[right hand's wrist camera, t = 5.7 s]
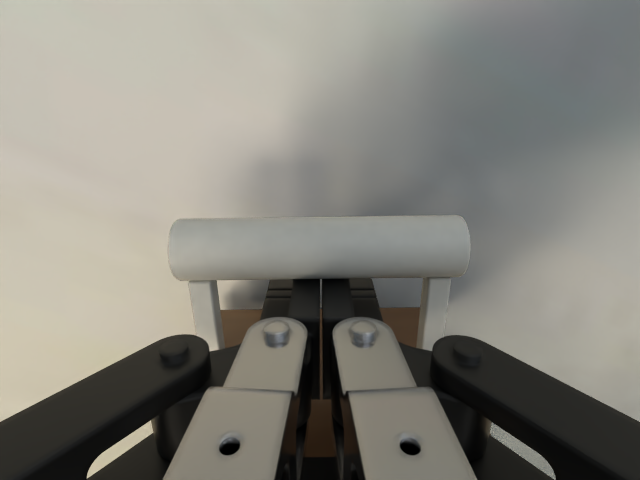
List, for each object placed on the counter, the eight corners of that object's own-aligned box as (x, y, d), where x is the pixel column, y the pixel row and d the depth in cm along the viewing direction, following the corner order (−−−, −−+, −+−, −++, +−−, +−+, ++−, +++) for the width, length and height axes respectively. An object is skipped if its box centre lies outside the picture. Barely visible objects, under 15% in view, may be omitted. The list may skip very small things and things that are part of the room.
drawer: (195, 178, 14) (-7, 332, 5) (442, 175, 14) (646, 323, 5) (238, 503, 20) (180, 812, 12) (408, 501, 20) (474, 809, 12)
